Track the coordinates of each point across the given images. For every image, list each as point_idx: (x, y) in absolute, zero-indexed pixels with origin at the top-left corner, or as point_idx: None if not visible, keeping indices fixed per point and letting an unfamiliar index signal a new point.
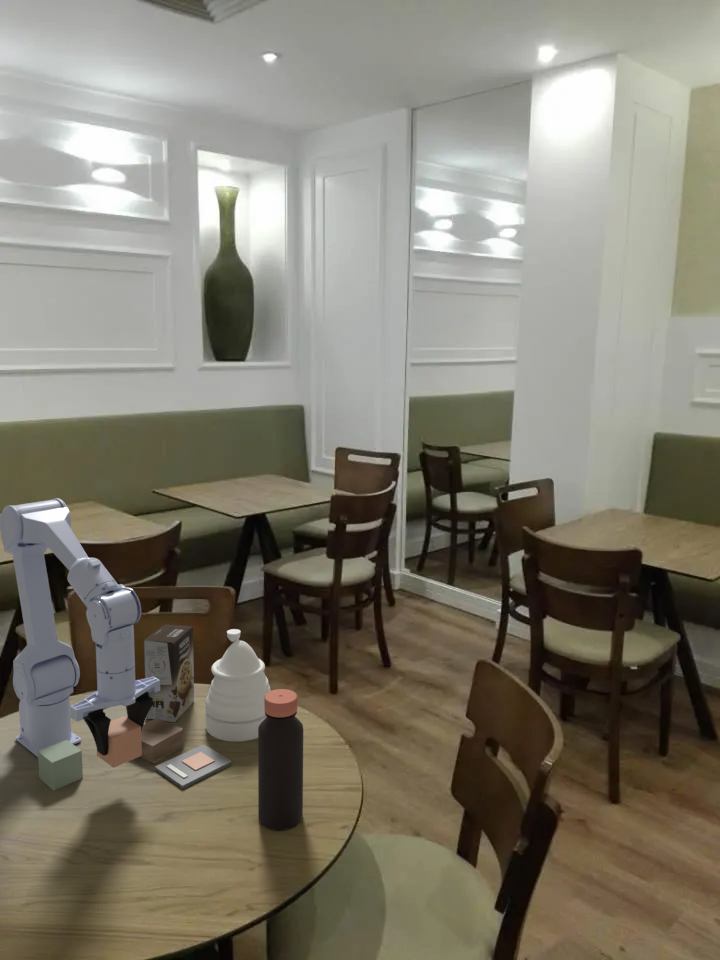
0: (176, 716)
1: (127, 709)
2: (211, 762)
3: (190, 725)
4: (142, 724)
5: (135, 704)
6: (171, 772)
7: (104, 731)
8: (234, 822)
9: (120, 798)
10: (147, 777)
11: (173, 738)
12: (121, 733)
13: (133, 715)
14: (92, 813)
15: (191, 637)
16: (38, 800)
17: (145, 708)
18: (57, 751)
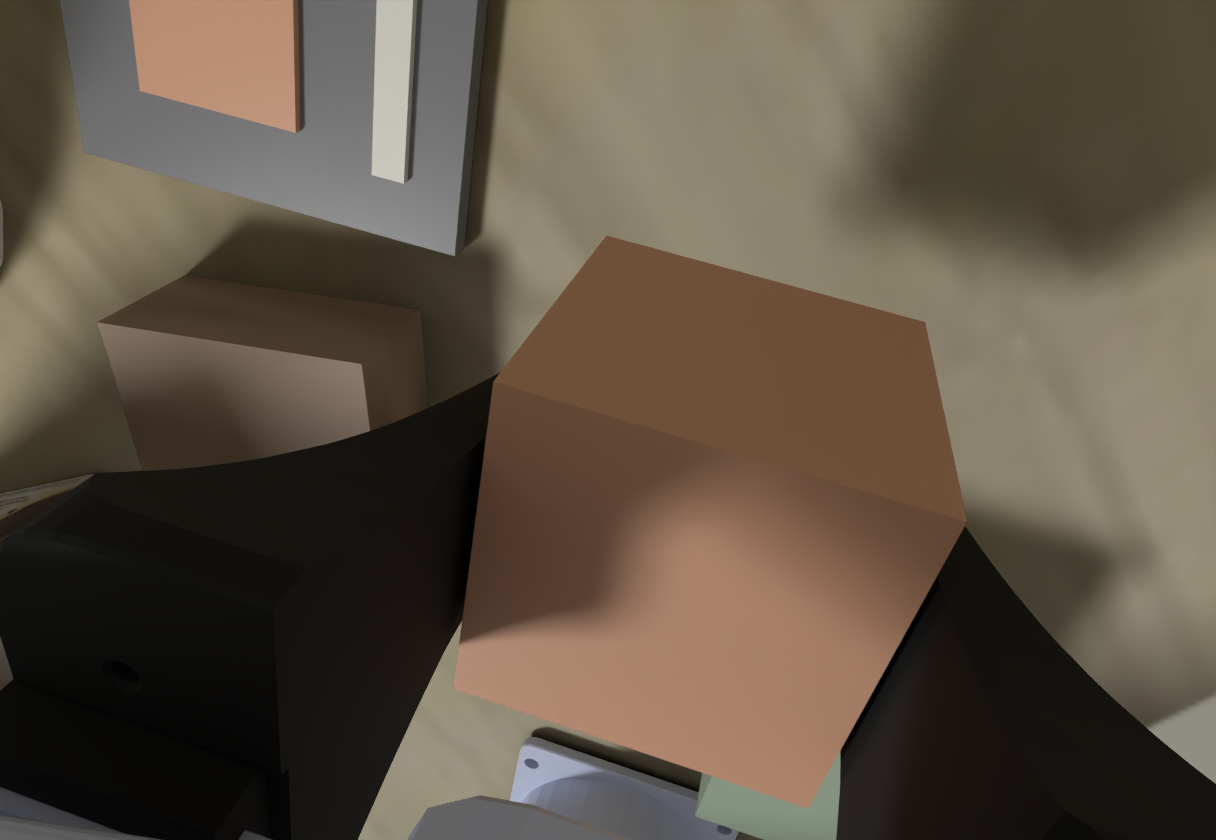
0: (72, 487)
1: (401, 727)
2: None
3: (54, 382)
4: (421, 421)
5: (322, 713)
6: (427, 94)
7: (1046, 689)
8: None
9: (834, 215)
10: (550, 230)
11: (202, 323)
12: (790, 492)
13: (425, 600)
14: (1076, 258)
15: None
16: (1066, 622)
17: (257, 516)
18: (832, 798)
